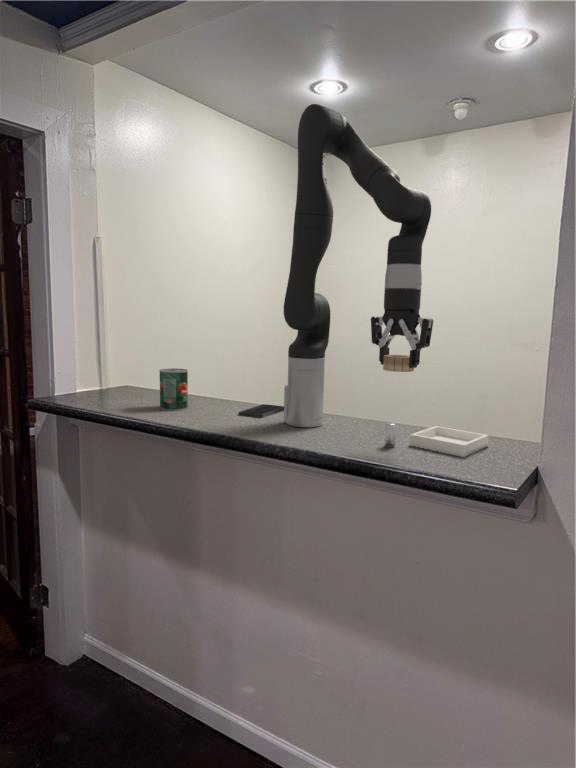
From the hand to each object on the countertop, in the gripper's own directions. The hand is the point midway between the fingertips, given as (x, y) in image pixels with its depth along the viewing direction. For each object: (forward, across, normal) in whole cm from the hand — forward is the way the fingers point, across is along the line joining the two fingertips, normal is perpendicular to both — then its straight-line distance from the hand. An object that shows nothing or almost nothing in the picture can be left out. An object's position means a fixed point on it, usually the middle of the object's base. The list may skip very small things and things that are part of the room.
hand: (398, 365), depth 116 cm
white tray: (+18, +8, +9) cm, 22 cm away
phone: (+18, -46, +5) cm, 50 cm away
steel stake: (+18, -1, -1) cm, 18 cm away
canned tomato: (+18, -67, -10) cm, 70 cm away
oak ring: (+1, 0, 0) cm, 1 cm away
